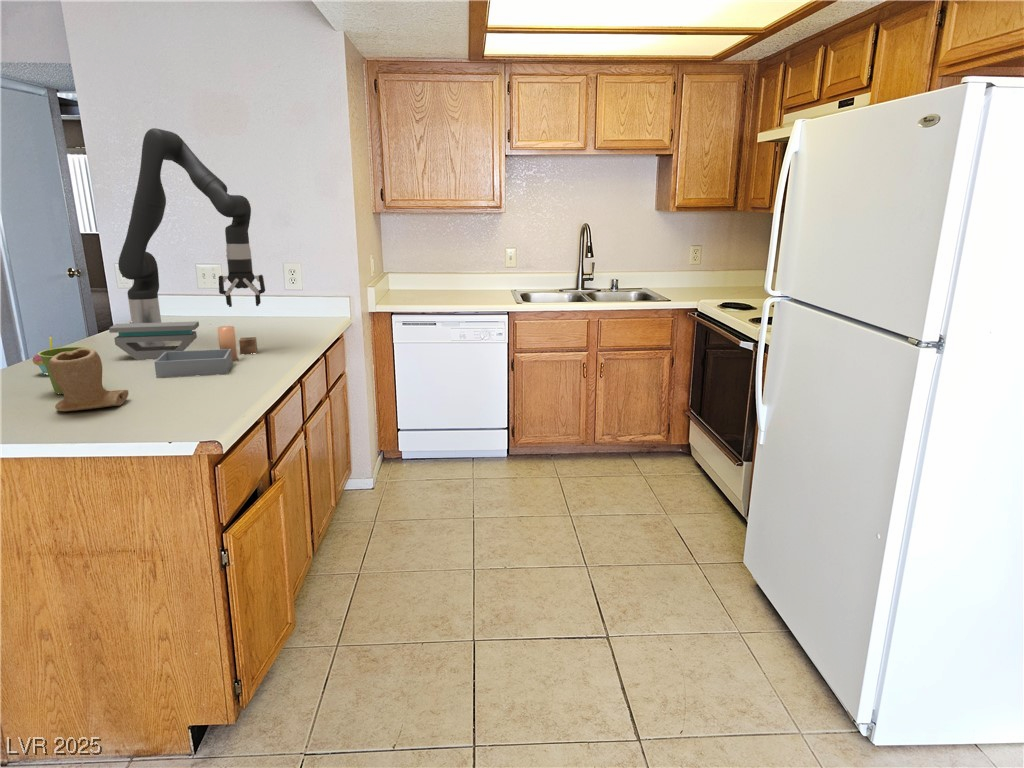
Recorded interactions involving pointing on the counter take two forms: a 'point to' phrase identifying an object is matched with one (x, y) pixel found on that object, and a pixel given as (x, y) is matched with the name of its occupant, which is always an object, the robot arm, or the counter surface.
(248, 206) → the robot arm
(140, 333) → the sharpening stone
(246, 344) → the cube
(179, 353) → the tote
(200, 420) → the counter surface
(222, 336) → the peach dome-topped cylinder
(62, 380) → the tan hollow clay piece
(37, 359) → the cupcake
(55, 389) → the plant pot
